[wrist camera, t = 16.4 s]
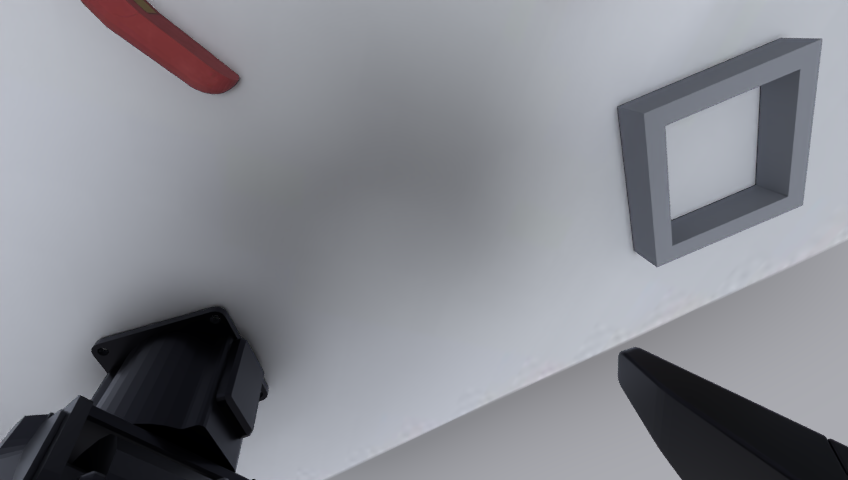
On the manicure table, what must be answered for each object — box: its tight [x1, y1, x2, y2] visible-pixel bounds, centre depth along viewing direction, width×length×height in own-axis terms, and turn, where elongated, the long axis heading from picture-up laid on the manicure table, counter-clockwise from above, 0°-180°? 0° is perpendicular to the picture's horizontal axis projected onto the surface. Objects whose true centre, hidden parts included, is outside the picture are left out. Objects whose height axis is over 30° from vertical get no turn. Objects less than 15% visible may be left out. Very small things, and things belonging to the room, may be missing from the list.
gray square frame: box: [618, 38, 822, 267], centre depth 22 cm, size 9×9×2 cm
